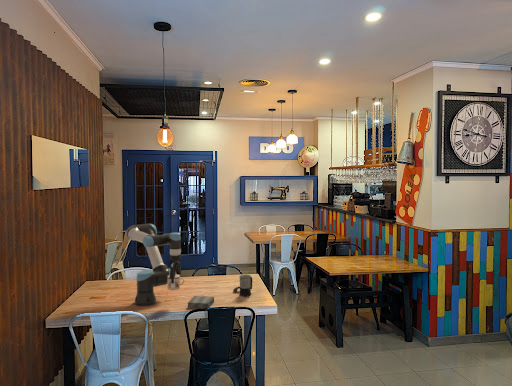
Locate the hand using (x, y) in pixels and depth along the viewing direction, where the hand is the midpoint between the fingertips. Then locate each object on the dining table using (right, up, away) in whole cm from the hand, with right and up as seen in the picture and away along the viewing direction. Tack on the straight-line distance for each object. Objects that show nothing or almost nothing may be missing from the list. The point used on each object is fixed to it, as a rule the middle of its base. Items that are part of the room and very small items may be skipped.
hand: (175, 285), depth 266 cm
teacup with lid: (0, -2, +1) cm, 3 cm away
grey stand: (+18, -14, +2) cm, 23 cm away
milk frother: (+46, -14, +28) cm, 56 cm away
